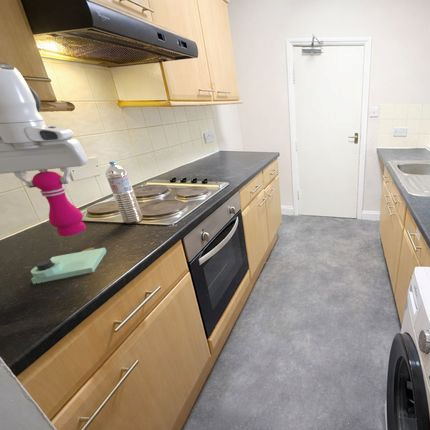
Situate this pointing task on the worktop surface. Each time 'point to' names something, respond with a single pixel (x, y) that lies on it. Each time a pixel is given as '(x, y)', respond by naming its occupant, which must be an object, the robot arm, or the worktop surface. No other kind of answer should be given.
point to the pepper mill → (59, 204)
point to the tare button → (44, 265)
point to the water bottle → (123, 194)
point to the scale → (69, 265)
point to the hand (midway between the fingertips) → (50, 185)
